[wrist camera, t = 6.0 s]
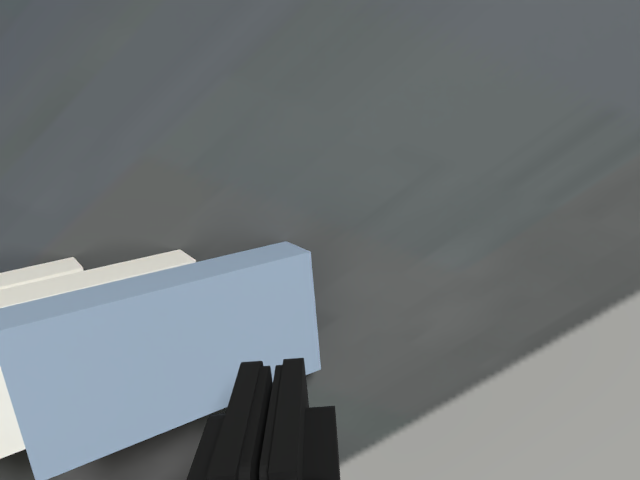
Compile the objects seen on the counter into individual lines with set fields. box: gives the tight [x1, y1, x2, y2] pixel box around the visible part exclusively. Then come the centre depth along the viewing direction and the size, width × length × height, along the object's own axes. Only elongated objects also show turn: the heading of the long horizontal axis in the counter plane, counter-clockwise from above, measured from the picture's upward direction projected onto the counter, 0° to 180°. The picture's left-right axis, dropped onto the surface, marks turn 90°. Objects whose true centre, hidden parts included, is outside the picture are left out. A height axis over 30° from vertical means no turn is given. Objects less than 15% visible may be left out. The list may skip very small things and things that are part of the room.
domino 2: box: [0, 241, 321, 480], centre depth 16 cm, size 2×5×10 cm
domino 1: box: [0, 249, 196, 459], centre depth 16 cm, size 2×5×10 cm
